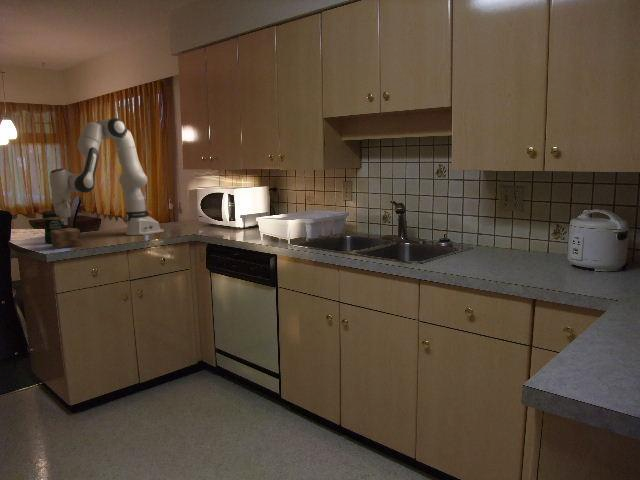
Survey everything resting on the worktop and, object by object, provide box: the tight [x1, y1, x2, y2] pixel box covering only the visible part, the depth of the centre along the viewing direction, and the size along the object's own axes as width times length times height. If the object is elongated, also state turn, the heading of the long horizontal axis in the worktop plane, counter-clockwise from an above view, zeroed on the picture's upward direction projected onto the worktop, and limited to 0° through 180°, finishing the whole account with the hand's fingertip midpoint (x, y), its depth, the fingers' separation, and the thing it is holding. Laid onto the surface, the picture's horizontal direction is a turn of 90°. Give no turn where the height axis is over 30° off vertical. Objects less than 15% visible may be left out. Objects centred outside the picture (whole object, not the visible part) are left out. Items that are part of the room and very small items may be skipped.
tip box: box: [51, 227, 83, 250], centre depth 276 cm, size 12×12×9 cm
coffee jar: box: [41, 210, 62, 244], centre depth 291 cm, size 10×8×19 cm
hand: (64, 224), depth 275 cm, fingers open, 4 cm apart
